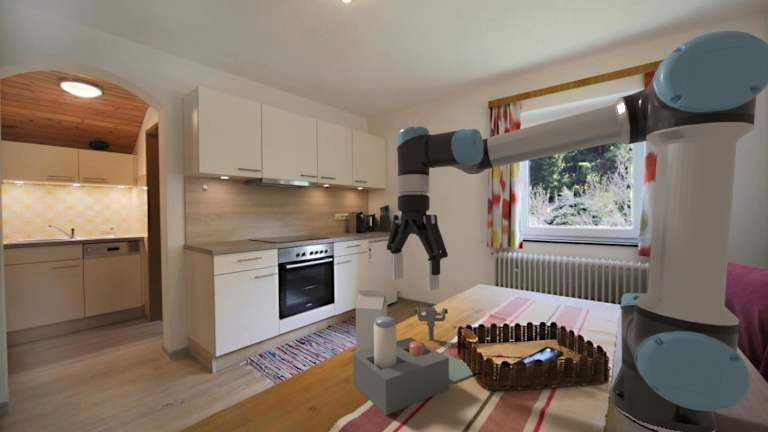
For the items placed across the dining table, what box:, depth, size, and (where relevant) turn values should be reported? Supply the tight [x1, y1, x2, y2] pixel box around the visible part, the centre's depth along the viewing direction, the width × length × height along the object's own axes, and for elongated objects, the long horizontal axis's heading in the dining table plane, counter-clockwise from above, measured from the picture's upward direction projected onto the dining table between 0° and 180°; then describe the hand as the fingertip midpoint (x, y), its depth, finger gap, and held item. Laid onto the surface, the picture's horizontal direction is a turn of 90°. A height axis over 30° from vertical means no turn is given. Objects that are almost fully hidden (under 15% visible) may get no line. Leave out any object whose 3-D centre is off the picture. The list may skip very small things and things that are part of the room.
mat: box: [442, 352, 474, 384], centre depth 79 cm, size 12×9×1 cm
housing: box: [352, 337, 450, 416], centre depth 71 cm, size 14×17×7 cm
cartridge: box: [374, 315, 397, 370], centre depth 69 cm, size 5×5×16 cm
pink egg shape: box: [409, 340, 426, 357], centre depth 73 cm, size 4×4×8 cm
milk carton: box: [355, 289, 388, 353], centre depth 84 cm, size 7×7×19 cm
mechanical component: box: [413, 306, 448, 342], centre depth 97 cm, size 3×10×10 cm, turn 89°
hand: (414, 284), depth 73 cm, fingers open, 13 cm apart
